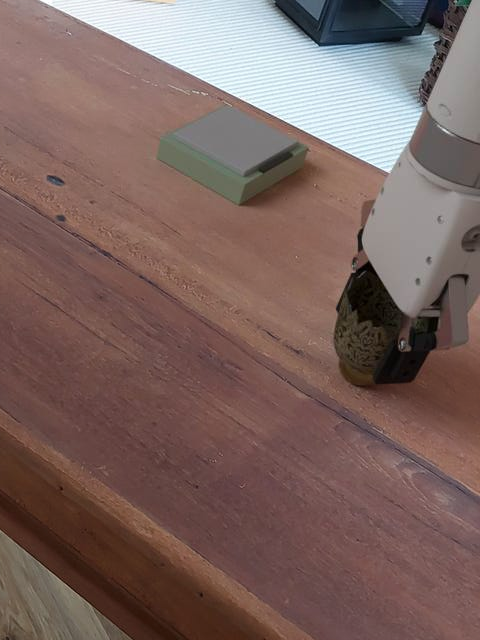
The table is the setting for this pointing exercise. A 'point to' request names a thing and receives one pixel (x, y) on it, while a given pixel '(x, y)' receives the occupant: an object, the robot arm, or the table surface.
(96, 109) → the table surface
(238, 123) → the scale
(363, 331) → the cup
